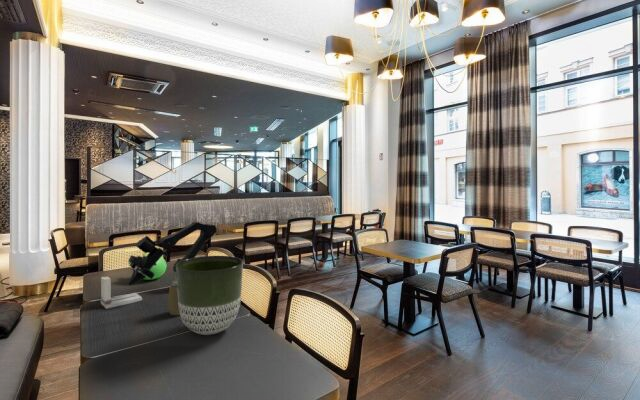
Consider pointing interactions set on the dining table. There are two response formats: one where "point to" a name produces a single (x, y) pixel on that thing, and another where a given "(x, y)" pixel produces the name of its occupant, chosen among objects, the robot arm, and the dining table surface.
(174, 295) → the squeeze bottle
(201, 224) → the robot arm
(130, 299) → the fader deck
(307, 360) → the dining table surface
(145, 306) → the dining table surface
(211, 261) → the planter
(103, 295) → the handle
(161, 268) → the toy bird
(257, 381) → the dining table surface
